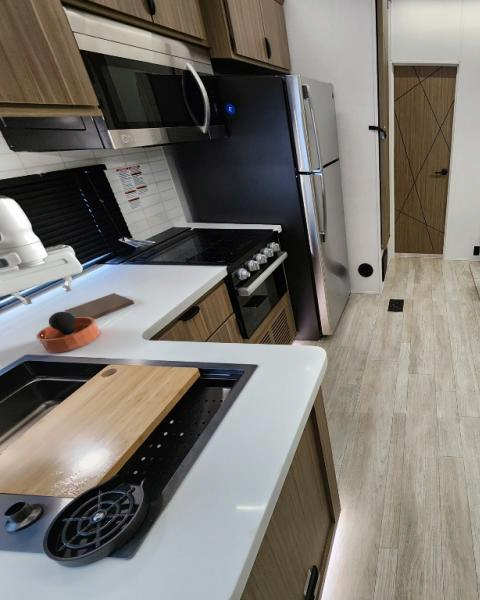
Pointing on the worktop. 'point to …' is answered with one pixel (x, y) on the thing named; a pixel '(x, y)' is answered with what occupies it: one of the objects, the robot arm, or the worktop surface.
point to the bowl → (58, 342)
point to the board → (100, 306)
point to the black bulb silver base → (63, 322)
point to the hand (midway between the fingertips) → (49, 297)
